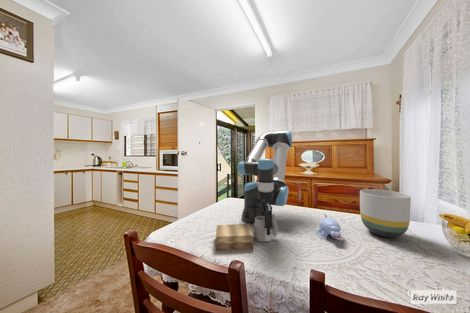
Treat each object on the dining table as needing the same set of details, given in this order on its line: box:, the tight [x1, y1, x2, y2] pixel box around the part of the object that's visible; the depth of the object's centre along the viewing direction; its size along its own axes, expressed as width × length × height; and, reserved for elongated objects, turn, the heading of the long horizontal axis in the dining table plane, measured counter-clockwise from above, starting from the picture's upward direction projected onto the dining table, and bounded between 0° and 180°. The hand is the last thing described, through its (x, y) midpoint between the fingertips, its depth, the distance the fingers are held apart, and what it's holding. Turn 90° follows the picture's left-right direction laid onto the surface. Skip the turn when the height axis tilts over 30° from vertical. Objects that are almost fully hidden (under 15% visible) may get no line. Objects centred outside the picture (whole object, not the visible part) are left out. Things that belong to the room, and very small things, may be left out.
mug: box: [253, 213, 279, 242], centre depth 85 cm, size 8×12×12 cm, turn 82°
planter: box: [359, 188, 412, 239], centre depth 88 cm, size 20×20×21 cm
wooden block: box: [215, 223, 254, 252], centre depth 81 cm, size 16×12×6 cm
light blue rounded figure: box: [316, 213, 344, 241], centre depth 85 cm, size 11×15×10 cm
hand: (265, 236), depth 85 cm, fingers closed on mug, 7 cm apart
